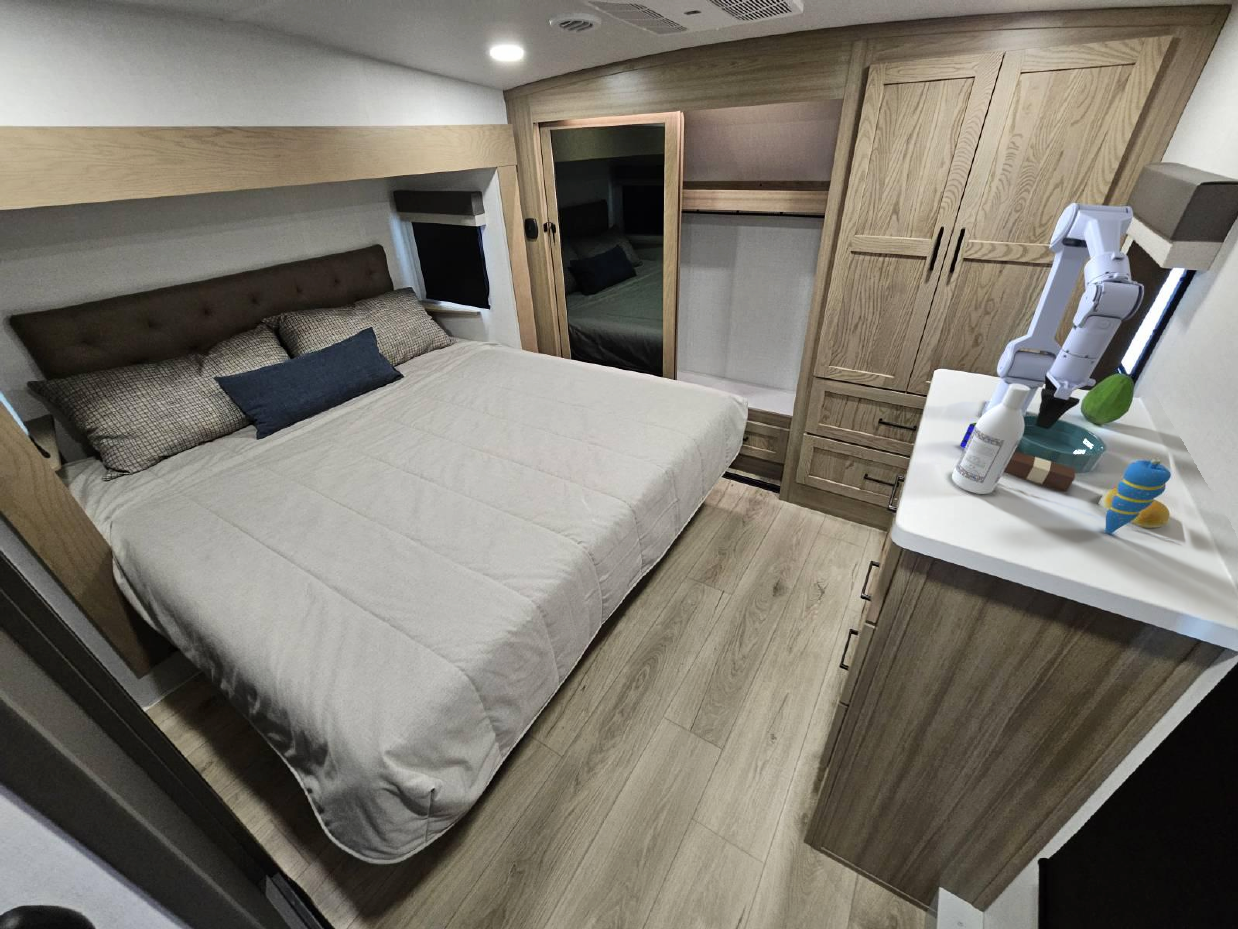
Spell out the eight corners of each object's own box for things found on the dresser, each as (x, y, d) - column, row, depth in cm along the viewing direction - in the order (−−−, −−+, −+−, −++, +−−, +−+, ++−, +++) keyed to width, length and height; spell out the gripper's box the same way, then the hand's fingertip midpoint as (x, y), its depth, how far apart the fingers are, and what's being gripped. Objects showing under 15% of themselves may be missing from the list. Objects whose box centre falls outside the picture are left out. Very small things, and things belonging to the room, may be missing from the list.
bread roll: (1158, 537, 85) (1174, 518, 82) (1092, 510, 90) (1105, 492, 88) (1167, 516, 89) (1181, 498, 87) (1103, 492, 95) (1115, 475, 93)
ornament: (1114, 546, 83) (1172, 469, 74) (1080, 526, 87) (1131, 452, 78) (1132, 538, 84) (1191, 462, 76) (1098, 519, 88) (1150, 445, 80)
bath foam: (979, 473, 99) (1027, 378, 88) (1001, 495, 93) (1055, 396, 82) (943, 473, 99) (987, 377, 88) (963, 494, 93) (1012, 395, 82)
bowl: (1004, 425, 116) (1013, 407, 113) (1094, 450, 107) (1106, 431, 105) (994, 454, 105) (1004, 436, 103) (1093, 485, 97) (1106, 465, 94)
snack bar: (1002, 473, 99) (1009, 458, 97) (1004, 464, 102) (1012, 449, 100) (1065, 493, 94) (1074, 478, 92) (1066, 483, 97) (1075, 468, 95)
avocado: (1097, 432, 114) (1128, 382, 107) (1065, 415, 120) (1092, 367, 114) (1125, 428, 116) (1157, 379, 109) (1091, 412, 122) (1120, 365, 115)
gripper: (1109, 371, 84) (1067, 441, 92) (1109, 346, 94) (1070, 412, 101) (1057, 360, 88) (1020, 428, 95) (1062, 337, 97) (1028, 401, 105)
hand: (1043, 419), depth 99 cm, fingers open, 7 cm apart
